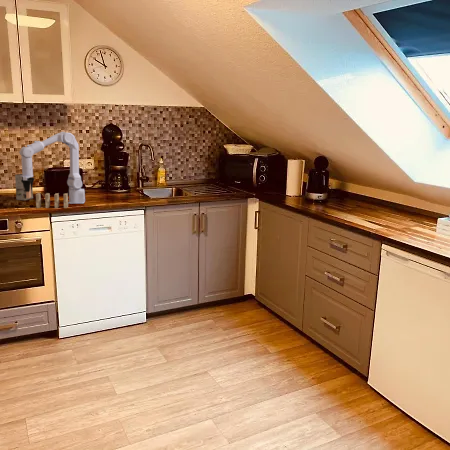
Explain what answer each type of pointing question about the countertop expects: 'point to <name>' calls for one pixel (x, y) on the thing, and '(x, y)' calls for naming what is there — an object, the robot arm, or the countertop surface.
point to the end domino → (28, 193)
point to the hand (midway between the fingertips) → (28, 190)
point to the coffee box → (21, 189)
